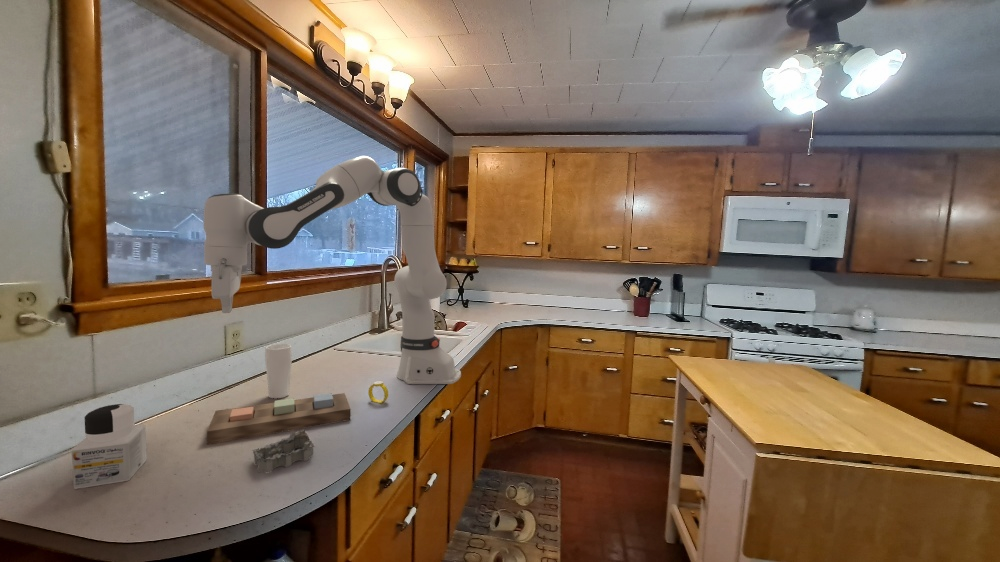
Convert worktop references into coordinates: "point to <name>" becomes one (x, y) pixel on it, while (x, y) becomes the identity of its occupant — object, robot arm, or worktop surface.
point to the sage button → (284, 406)
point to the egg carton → (285, 445)
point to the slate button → (323, 401)
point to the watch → (380, 383)
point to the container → (109, 447)
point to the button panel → (276, 419)
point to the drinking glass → (278, 369)
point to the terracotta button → (242, 414)
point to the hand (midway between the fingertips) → (227, 312)
